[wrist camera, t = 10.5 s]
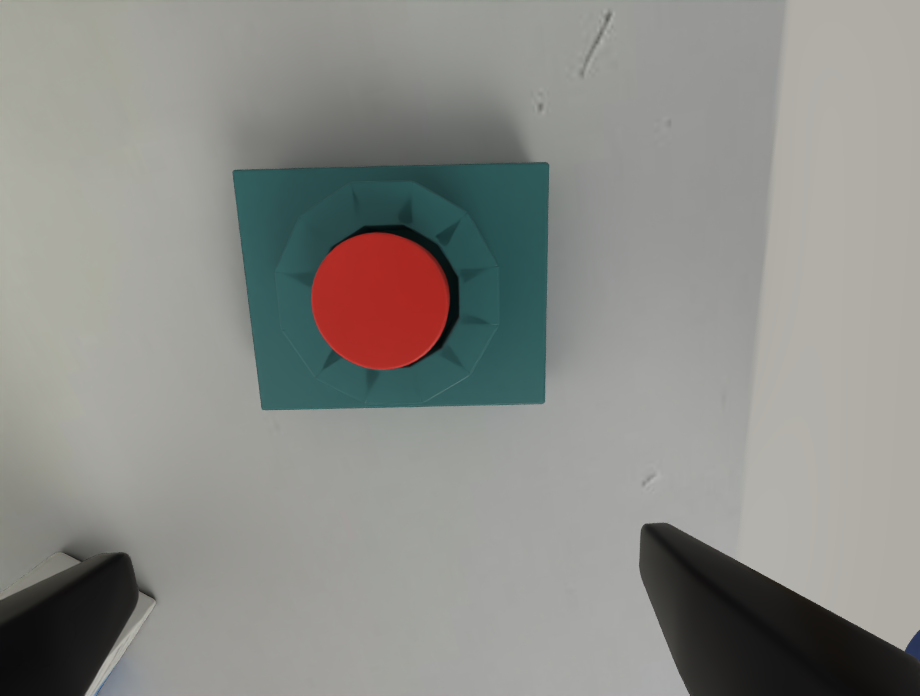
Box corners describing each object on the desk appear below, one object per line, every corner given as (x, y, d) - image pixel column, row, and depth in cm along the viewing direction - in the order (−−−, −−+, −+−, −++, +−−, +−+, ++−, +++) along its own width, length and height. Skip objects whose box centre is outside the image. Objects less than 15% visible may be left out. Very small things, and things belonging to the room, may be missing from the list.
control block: (537, 174, 16) (563, 147, 12) (534, 386, 17) (556, 424, 13) (262, 181, 16) (196, 156, 12) (285, 392, 17) (234, 431, 13)
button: (448, 234, 13) (446, 230, 11) (451, 354, 13) (450, 369, 12) (324, 236, 13) (303, 233, 11) (335, 357, 13) (316, 372, 12)
